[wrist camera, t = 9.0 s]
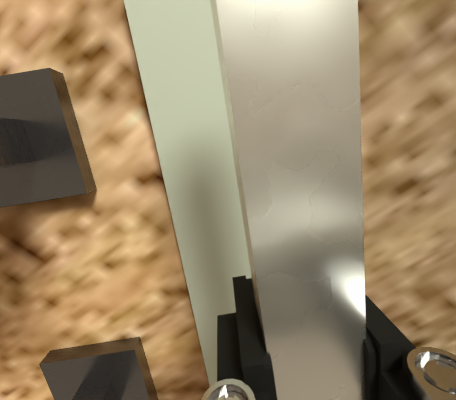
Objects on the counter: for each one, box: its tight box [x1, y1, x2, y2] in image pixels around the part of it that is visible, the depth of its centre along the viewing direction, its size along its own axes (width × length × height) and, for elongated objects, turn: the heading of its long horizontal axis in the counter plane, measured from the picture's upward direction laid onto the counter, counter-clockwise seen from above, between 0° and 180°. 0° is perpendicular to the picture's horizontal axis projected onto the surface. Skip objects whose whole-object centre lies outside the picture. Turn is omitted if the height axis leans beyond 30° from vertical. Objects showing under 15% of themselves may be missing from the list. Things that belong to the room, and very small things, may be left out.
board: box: [124, 0, 252, 387], centre depth 14 cm, size 10×28×1 cm, turn 9°
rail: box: [210, 0, 366, 400], centre depth 7 cm, size 2×24×2 cm, turn 9°
